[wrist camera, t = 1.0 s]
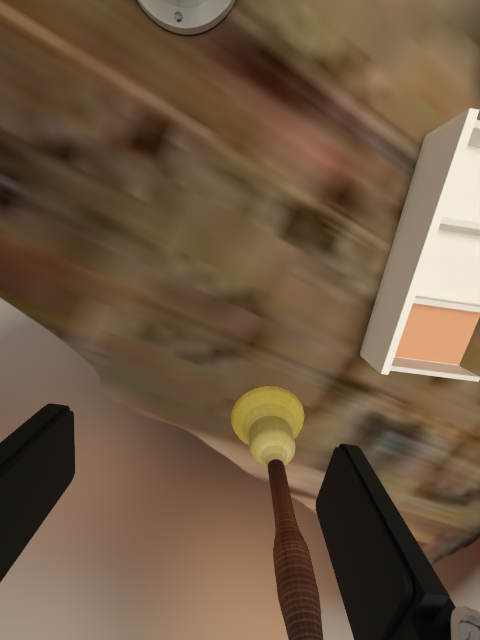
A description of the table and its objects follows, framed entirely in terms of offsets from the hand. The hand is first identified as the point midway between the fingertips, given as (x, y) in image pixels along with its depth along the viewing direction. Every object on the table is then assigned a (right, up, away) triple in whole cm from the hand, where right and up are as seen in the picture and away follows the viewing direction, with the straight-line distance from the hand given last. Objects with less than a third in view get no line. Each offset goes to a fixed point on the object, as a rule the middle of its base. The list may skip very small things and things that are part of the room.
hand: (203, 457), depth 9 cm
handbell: (+6, -12, +32) cm, 35 cm away
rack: (+29, +12, +25) cm, 41 cm away
